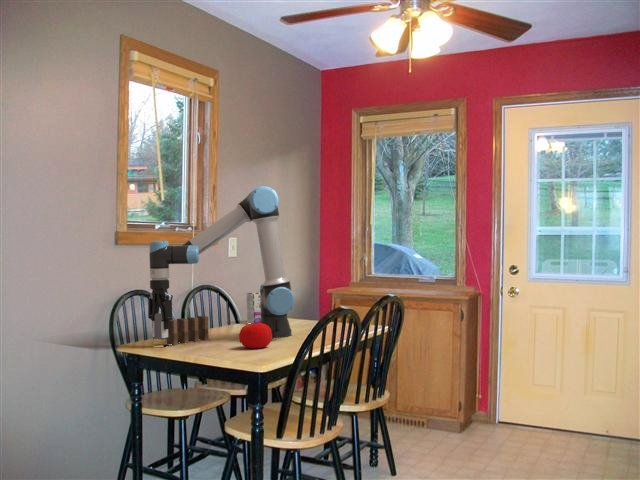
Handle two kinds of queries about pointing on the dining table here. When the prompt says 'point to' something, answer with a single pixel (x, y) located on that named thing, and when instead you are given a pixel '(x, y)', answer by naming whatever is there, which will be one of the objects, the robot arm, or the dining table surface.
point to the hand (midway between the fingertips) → (160, 336)
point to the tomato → (255, 335)
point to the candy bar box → (253, 307)
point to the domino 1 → (158, 326)
